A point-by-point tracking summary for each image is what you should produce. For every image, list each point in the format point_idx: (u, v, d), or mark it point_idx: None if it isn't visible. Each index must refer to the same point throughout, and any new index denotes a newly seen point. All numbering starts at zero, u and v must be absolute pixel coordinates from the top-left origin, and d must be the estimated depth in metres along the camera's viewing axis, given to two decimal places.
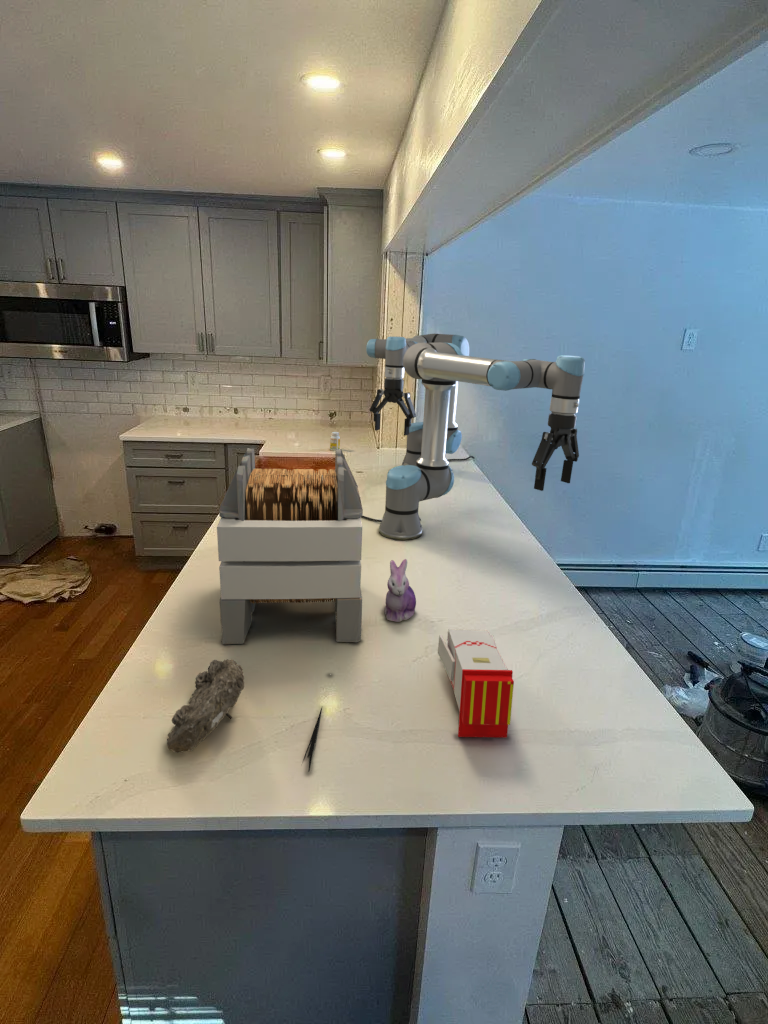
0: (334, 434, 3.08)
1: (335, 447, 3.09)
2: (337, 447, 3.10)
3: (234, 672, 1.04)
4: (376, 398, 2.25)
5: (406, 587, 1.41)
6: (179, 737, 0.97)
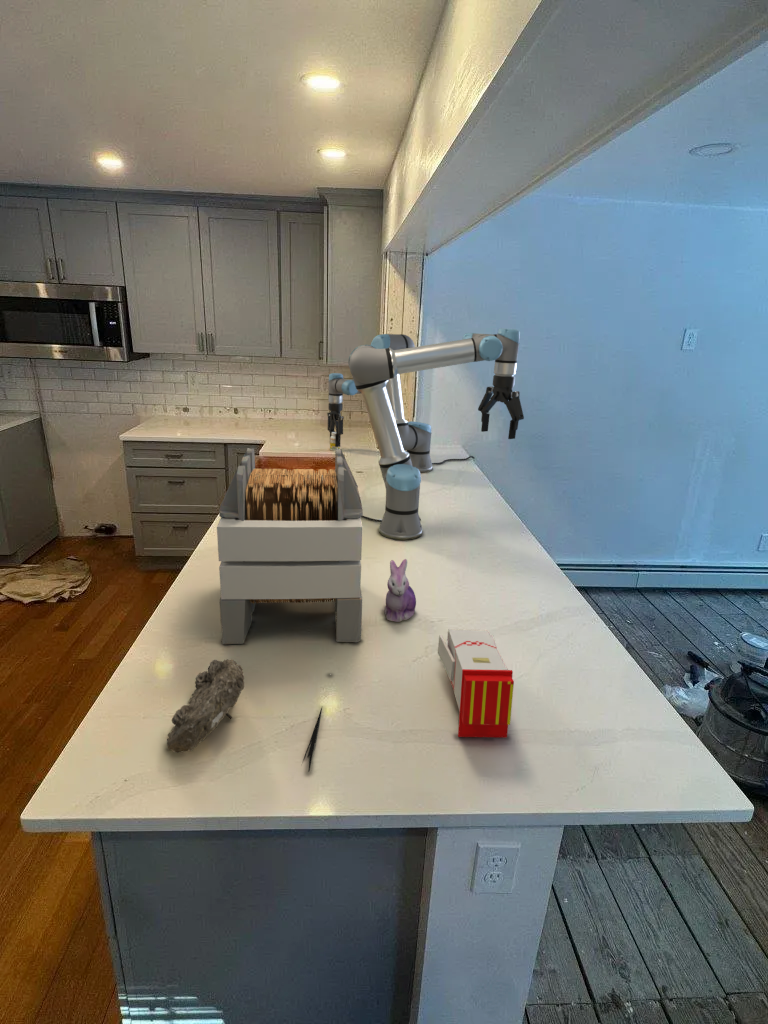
0: (334, 434, 3.08)
1: (335, 447, 3.09)
2: (337, 447, 3.10)
3: (234, 672, 1.04)
4: None
5: (406, 587, 1.41)
6: (179, 737, 0.97)
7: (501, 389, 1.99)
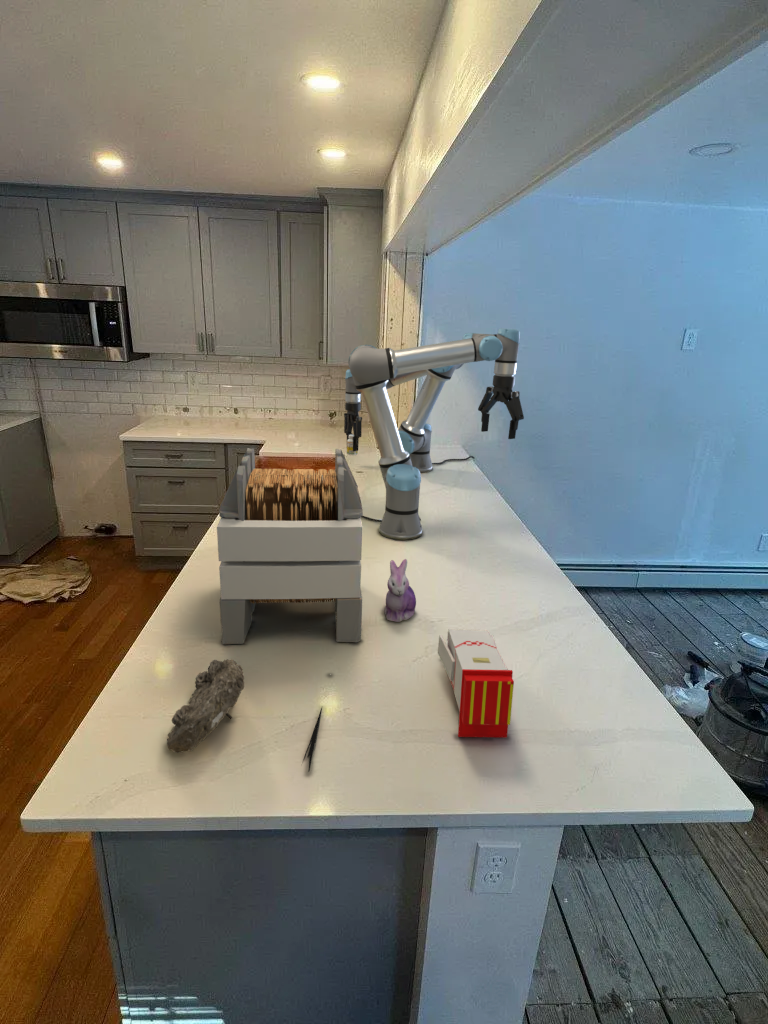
0: (351, 437, 2.77)
1: (353, 451, 2.79)
2: (355, 451, 2.79)
3: (234, 672, 1.04)
4: None
5: (406, 587, 1.41)
6: (179, 737, 0.97)
7: (501, 389, 1.99)
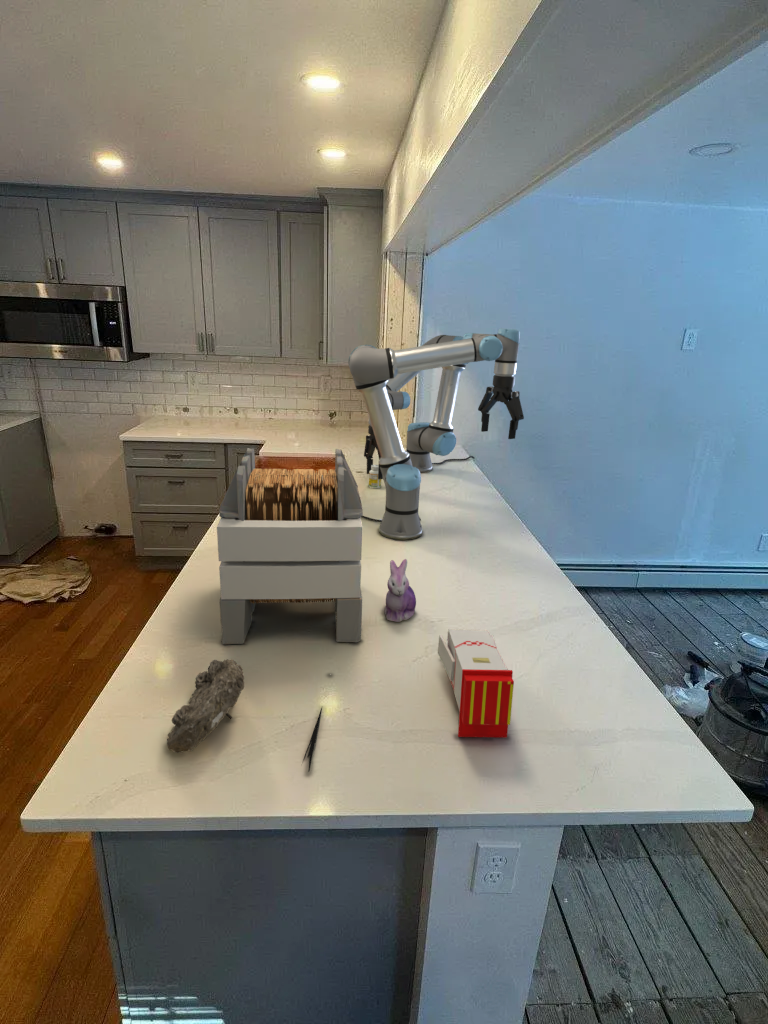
0: (374, 468, 2.46)
1: (376, 484, 2.48)
2: (378, 484, 2.48)
3: (234, 672, 1.04)
4: None
5: (406, 587, 1.41)
6: (179, 737, 0.97)
7: (501, 389, 1.99)
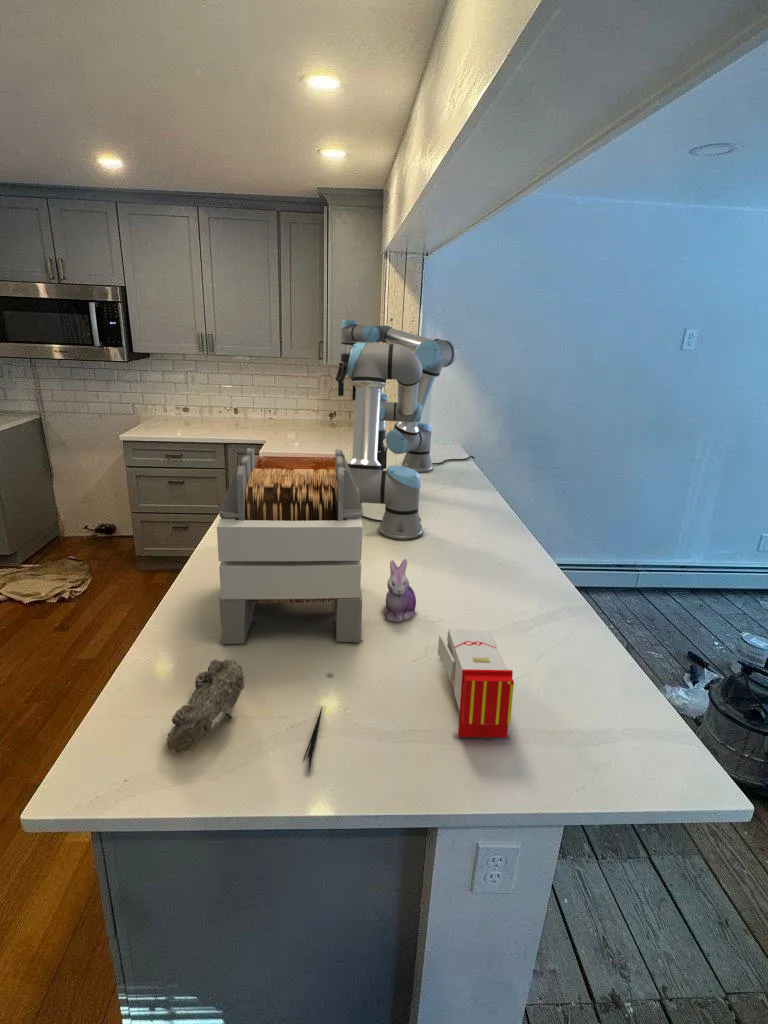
0: None
1: None
2: None
3: (234, 672, 1.04)
4: None
5: (406, 587, 1.41)
6: (179, 737, 0.97)
7: None
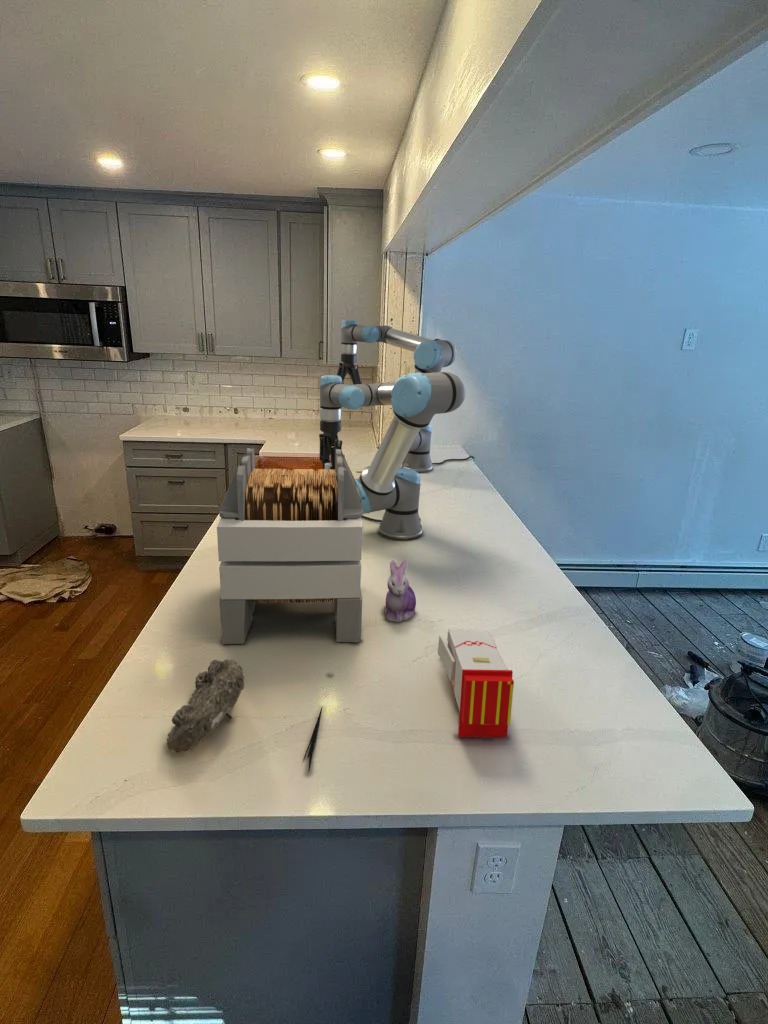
0: (328, 467, 2.05)
1: None
2: None
3: (234, 672, 1.04)
4: None
5: (406, 587, 1.41)
6: (179, 737, 0.97)
7: (328, 433, 2.01)
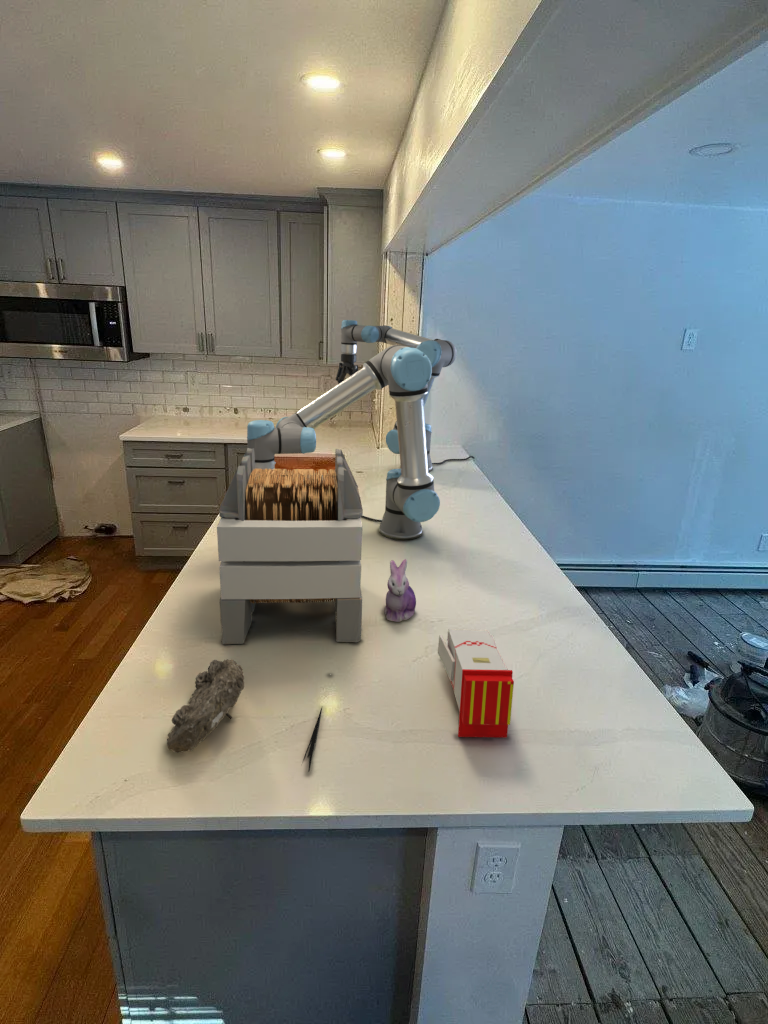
0: None
1: None
2: None
3: (234, 672, 1.04)
4: None
5: (406, 587, 1.41)
6: (179, 737, 0.97)
7: None
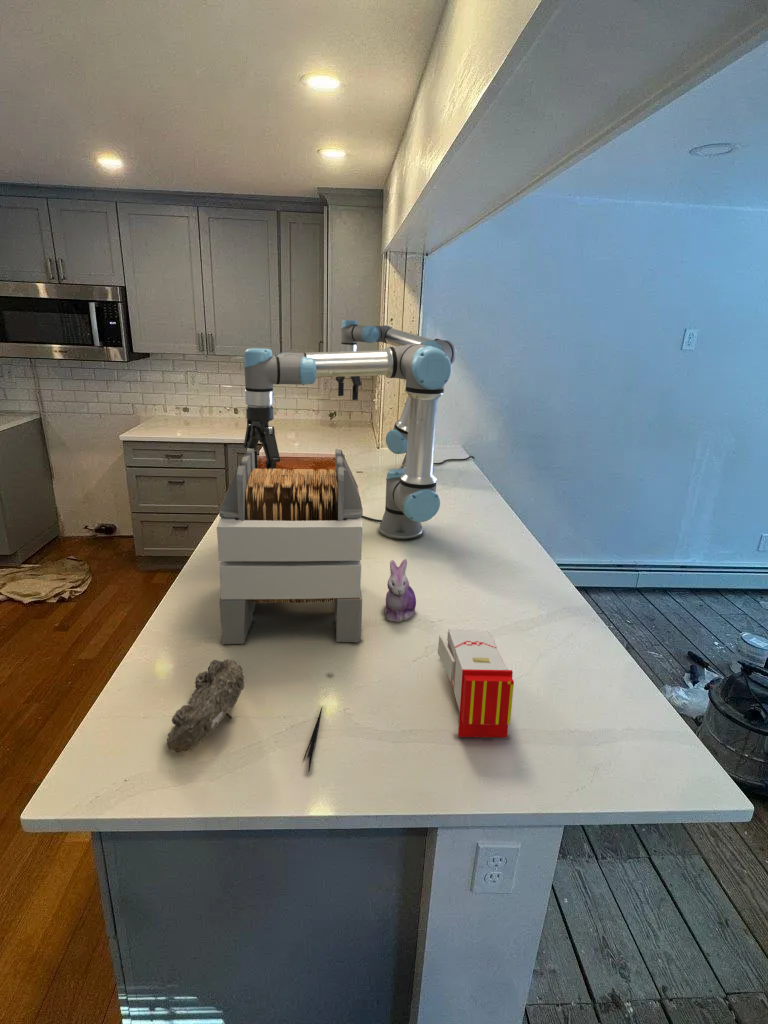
0: None
1: None
2: None
3: (234, 672, 1.04)
4: None
5: (406, 587, 1.41)
6: (179, 737, 0.97)
7: (257, 423, 1.60)
